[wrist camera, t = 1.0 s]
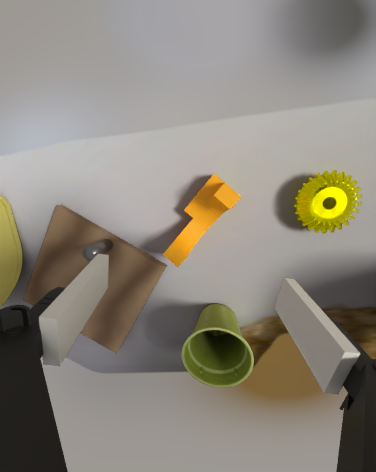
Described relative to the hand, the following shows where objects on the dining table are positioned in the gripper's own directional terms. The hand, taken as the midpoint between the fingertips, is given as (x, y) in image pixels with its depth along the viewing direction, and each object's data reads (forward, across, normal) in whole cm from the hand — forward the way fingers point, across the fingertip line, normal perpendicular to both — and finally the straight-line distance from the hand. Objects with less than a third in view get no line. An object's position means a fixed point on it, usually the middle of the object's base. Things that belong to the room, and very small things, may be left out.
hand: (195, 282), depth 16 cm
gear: (+16, -17, -6) cm, 24 cm away
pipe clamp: (+18, -1, -1) cm, 18 cm away
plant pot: (+16, -7, +16) cm, 24 cm away
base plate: (+20, +16, +14) cm, 29 cm away
